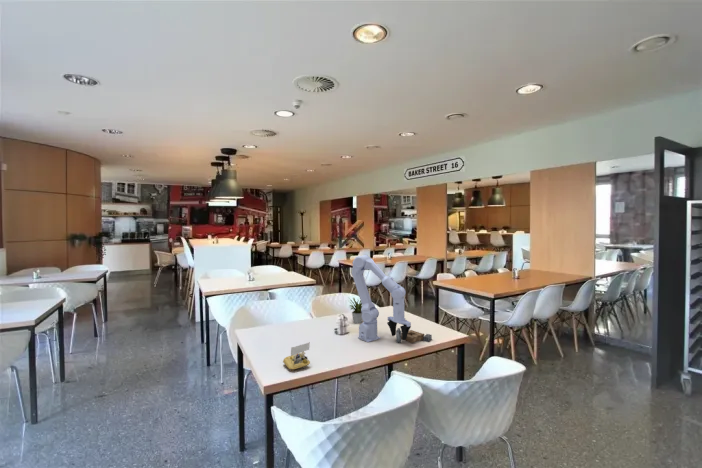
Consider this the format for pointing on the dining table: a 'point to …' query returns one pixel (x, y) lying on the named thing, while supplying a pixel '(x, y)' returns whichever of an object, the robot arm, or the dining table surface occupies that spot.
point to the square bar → (427, 337)
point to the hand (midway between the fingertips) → (399, 337)
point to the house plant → (356, 311)
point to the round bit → (398, 335)
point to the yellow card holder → (297, 357)
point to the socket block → (413, 336)
